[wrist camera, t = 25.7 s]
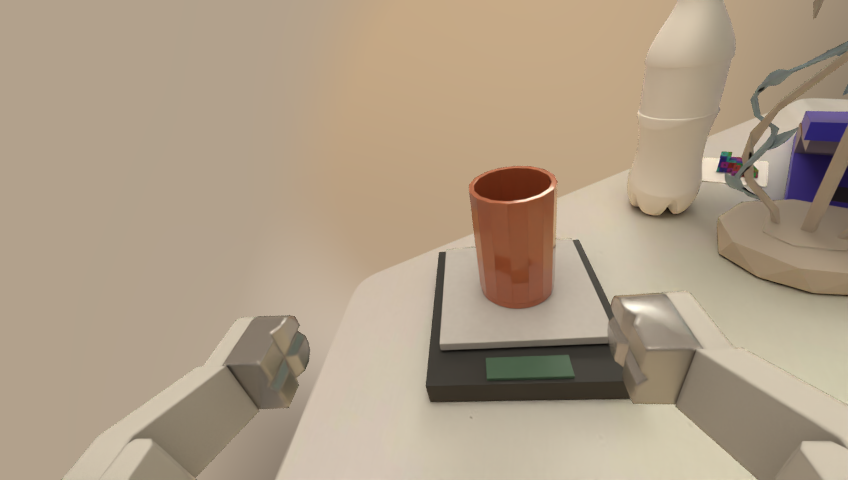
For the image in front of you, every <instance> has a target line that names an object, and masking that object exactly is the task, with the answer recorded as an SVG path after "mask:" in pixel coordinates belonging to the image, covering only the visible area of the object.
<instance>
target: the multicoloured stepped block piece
mask: <svg viewBox="0 0 848 480" xmlns="http://www.w3.org/2000/svg"><path fill="white" fill-rule="evenodd" d="M731 155H732V152H722V153H721V157H720V158H719V160H718V164H717V167H716V171H715V172H716V173H726V174H729V175H731V176H734V177H735V174H736V173H737V172H738V171H739V170H740V168H741V167H742V166H743V162H742V158H740V157H731ZM759 172H760V170H759V169H758V168H757V167H756V166H755V165H754V179H758V178H759Z"/></svg>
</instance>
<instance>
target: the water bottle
mask: <svg viewBox="0 0 848 480" xmlns="http://www.w3.org/2000/svg"><path fill="white" fill-rule="evenodd" d="M734 54H735V36H734V32H733V28H732V25H731V21H730V18H729V15H728V13H727V10H726V7H725V4H724V0H677V3H676V5H675V7H674V9H673V11H672V12H671V14H670V16H669V17H668V19H667V20H666V22H665V23H664V25H663V26H662V28H661V29H660V31H659V32H658V34H657V36H656V38H655V39H654V41H653V43H652V44H651V46H650V48H649V51H648V53H647V56H646V60H645V65H646V67H645V74H644V81H643V88H642V95H641V102H640V109H639V110H638V114H637V118H638V125H639V139H638V147H637V152H636V156H635V160H634V162H633V165H632V167H631V170H630V172H629V177H628V185H627V191H628V196H629V200H630V202H631V204H632V205H633V206H635V207H637V206H639V207H640V209H641V211H642V212H644V213H646V214H649V215H660V214H661V213H663V212H664V210H665V209H666V208H667V207H668V208H669V210H670V211H671V212H672V213H673V214H679V213H681V212H683V211H684V210H686V209H687V208H688V207H689V206H690V205H691V203H692V202H693V201H694V199H695V197H696V196H697V194H698V191H699V188H700V184H701V180H702V159H703V152H704V148H705V144H706V141H707V137H708V135H709V132H710V129H711V127H712V125H713V123H714V120H715V118H716V117H717V115H718V113H719V111H720V107H719V105H720V101H721V97H722V94H723V90H724V86H725V82H726V78H727V74H728V71H729V67H730V63H731V59H732V58H733V57H734Z"/></svg>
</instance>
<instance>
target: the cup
mask: <svg viewBox="0 0 848 480" xmlns="http://www.w3.org/2000/svg"><path fill="white" fill-rule="evenodd" d="M469 194H470V202H471V211H472V220H473V228H474V236H475V245H476V253H477V261H478V270H479V278H480V286H481V290H482V292H483V294H484V295H485V297H486V298H487V299H489V300H490V301H491V302H493V303H495V304H497V305H499V306H502V307H506V308H513V309H522V308H529V307H533V306H536V305H538V304H540V303H542V302H544V301H545V300H546V299H548V297H549V296H550V295H551V293H552V291H553V288H554V281H555V252H556V216H557V180H556V178H555V176H554V175H553V174H552V173H550V172H548V171H546V170H545V169H540V168H536V167H531V166H512V167H503V168H498V169H495V170H491V171H488V172H485V173H483V174H481V175H479V176H478V177H476V178H475V179H474V180H473V181H472V182H471V183H470V184H469Z"/></svg>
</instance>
